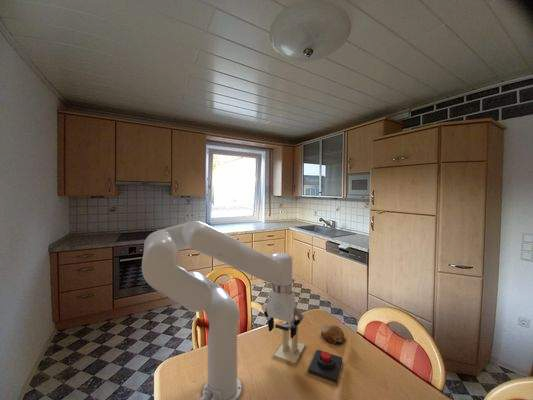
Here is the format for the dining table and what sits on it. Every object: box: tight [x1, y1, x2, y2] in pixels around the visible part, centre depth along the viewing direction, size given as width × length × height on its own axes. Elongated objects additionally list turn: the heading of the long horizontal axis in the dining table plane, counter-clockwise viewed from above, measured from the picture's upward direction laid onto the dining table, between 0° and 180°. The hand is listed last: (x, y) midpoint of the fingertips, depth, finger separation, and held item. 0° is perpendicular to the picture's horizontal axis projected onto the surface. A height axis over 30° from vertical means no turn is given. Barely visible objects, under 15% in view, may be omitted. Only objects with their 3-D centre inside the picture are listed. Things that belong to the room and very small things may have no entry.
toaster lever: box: [274, 322, 292, 331], centre depth 90 cm, size 12×5×2 cm, turn 153°
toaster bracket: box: [273, 321, 306, 364], centre depth 94 cm, size 12×9×13 cm
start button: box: [321, 351, 331, 363], centre depth 86 cm, size 4×4×2 cm
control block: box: [307, 349, 343, 386], centre depth 86 cm, size 12×10×4 cm
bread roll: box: [320, 323, 345, 346], centre depth 103 cm, size 10×10×8 cm
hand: (281, 332), depth 86 cm, fingers open, 8 cm apart
